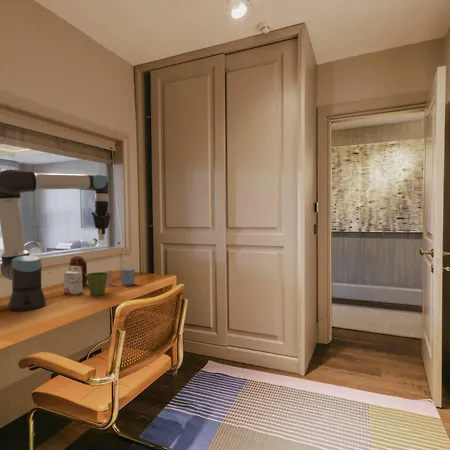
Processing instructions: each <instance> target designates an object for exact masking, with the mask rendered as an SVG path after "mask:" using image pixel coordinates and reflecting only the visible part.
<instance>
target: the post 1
mask: <svg viewBox="0 0 450 450" xmlns="http://www.w3.org/2000/svg"><path fill="white" fill-rule="evenodd" d="M105 272H107V273H109V274H108V275H107V279H106V286H105V287H113V286H115V285H117V283H113V270H105Z"/></svg>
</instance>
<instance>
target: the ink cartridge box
mask: <svg viewBox="0 0 450 450" xmlns="http://www.w3.org/2000/svg"><path fill="white" fill-rule="evenodd" d="M69 267H70V271H69V270H68V271H65V272H63V292H64V294H69V295H78V294H81V293H83V286H82V267H80V266H70V265H69ZM74 268H78V269H74Z"/></svg>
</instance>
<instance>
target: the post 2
mask: <svg viewBox="0 0 450 450" xmlns="http://www.w3.org/2000/svg"><path fill="white" fill-rule="evenodd" d="M133 284H134V285H135V284H136V282H135V283H132V284H121V286H122V287H132V286H134V285H133Z"/></svg>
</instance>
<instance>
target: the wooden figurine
mask: <svg viewBox="0 0 450 450" xmlns="http://www.w3.org/2000/svg"><path fill="white" fill-rule="evenodd" d="M70 266H80V267H82V287H83V286H86V285H88V280H87V277H86V276H85V275H86V274H88V272H87V271H88V269H87V268H88V267H87V262H86V261H85V259H84V258H83V257H82V256H80V255H79V256H78V255H75V256H72V257H71V258H70V260H69V268H68V269H69V270H68V271H70ZM74 269H78V268H74Z"/></svg>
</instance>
